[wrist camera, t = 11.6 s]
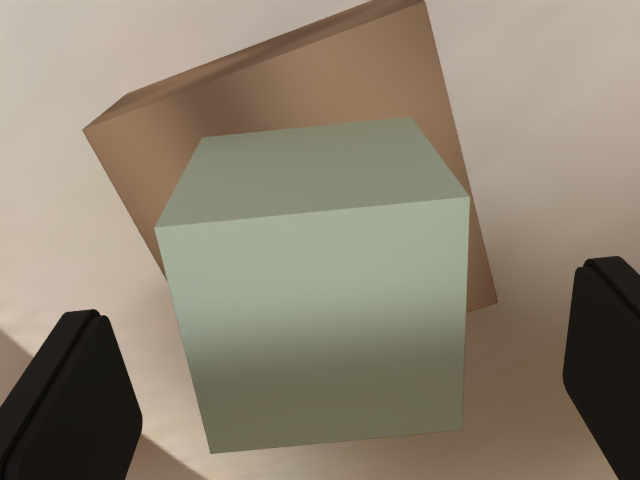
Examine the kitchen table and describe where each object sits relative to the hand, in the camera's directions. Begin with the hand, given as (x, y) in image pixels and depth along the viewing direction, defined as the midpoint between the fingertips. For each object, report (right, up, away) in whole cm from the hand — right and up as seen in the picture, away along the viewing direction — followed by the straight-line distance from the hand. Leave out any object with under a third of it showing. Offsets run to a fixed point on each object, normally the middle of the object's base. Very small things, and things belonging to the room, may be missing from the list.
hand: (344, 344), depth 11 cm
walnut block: (-1, +5, +10) cm, 12 cm away
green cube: (-1, +3, +6) cm, 7 cm away
